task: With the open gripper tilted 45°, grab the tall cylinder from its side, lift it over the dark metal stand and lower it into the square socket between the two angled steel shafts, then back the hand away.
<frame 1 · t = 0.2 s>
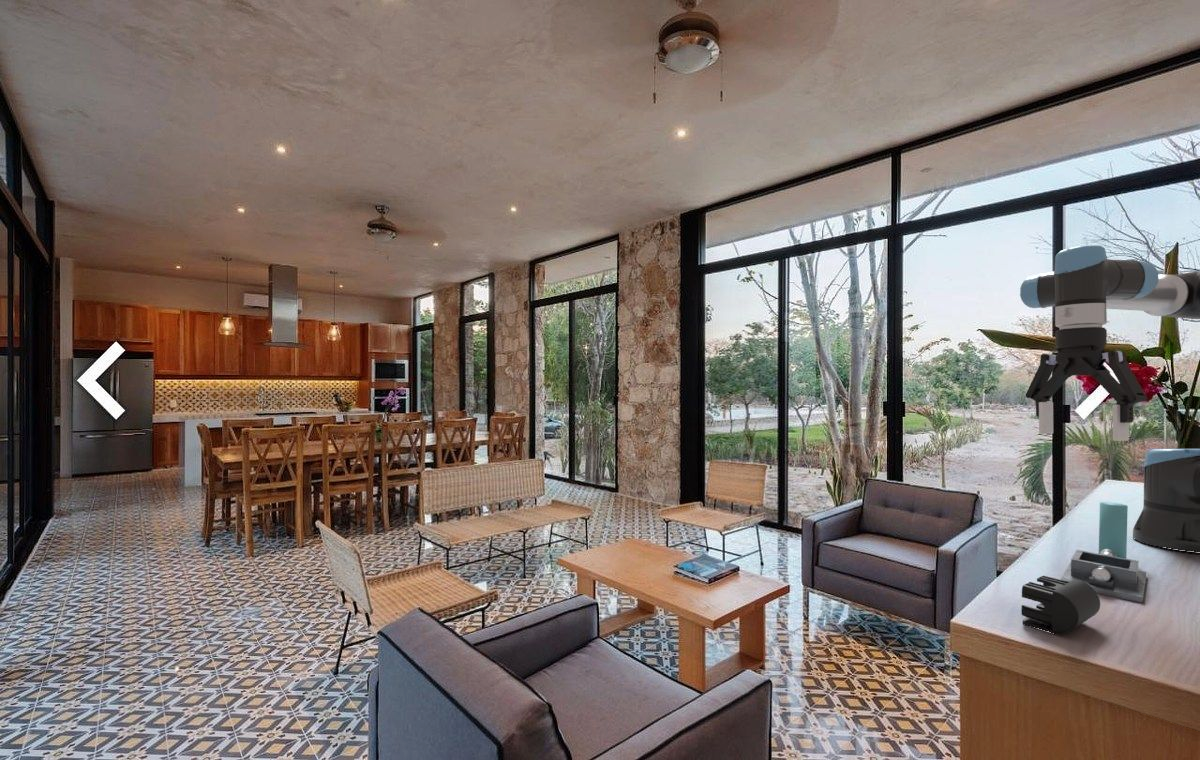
hand: (1081, 437, 107), 28 cm above the table, tool pointing down, fingers open, 13 cm apart
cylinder: (1112, 559, 119), on the table
end cap: (1060, 627, 86), on the table
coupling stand: (1104, 580, 106), on the table
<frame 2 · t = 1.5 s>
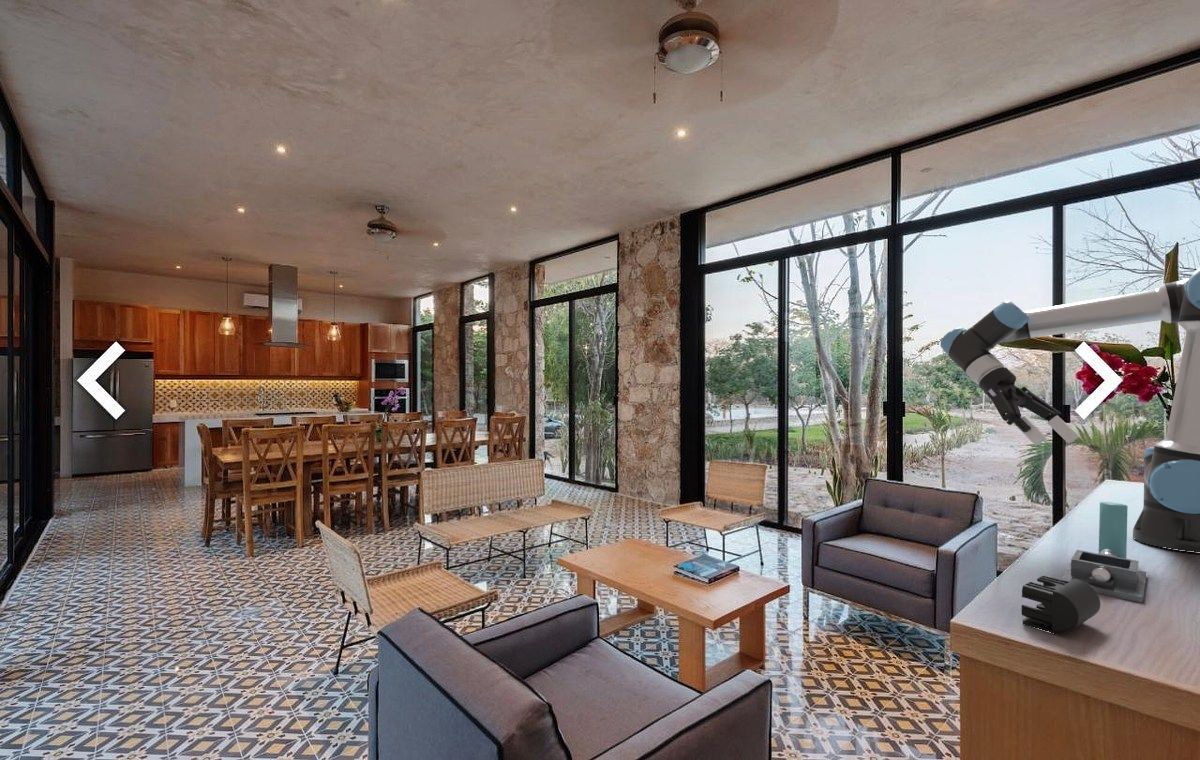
hand: (1058, 441, 128), 24 cm above the table, tool tilted 45°, fingers open, 13 cm apart
nothing on the table moved.
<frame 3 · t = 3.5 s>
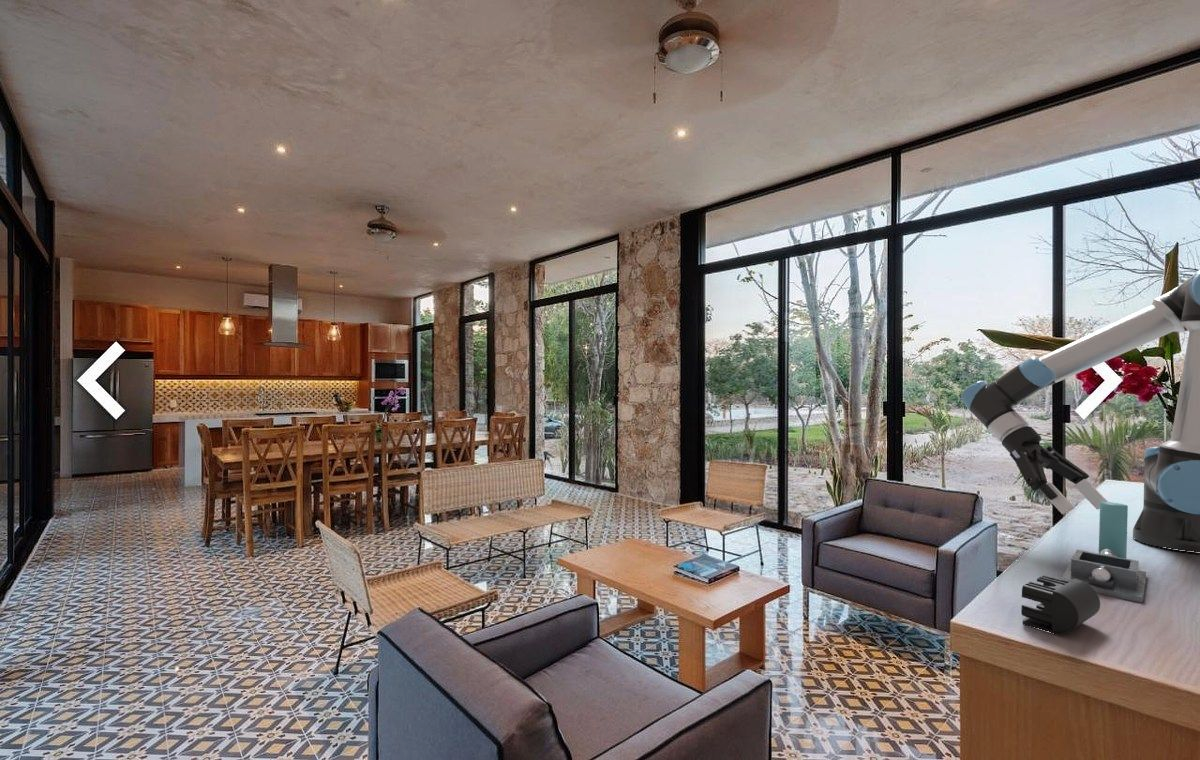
hand: (1086, 508, 123), 10 cm above the table, tool tilted 45°, fingers open, 13 cm apart
nothing on the table moved.
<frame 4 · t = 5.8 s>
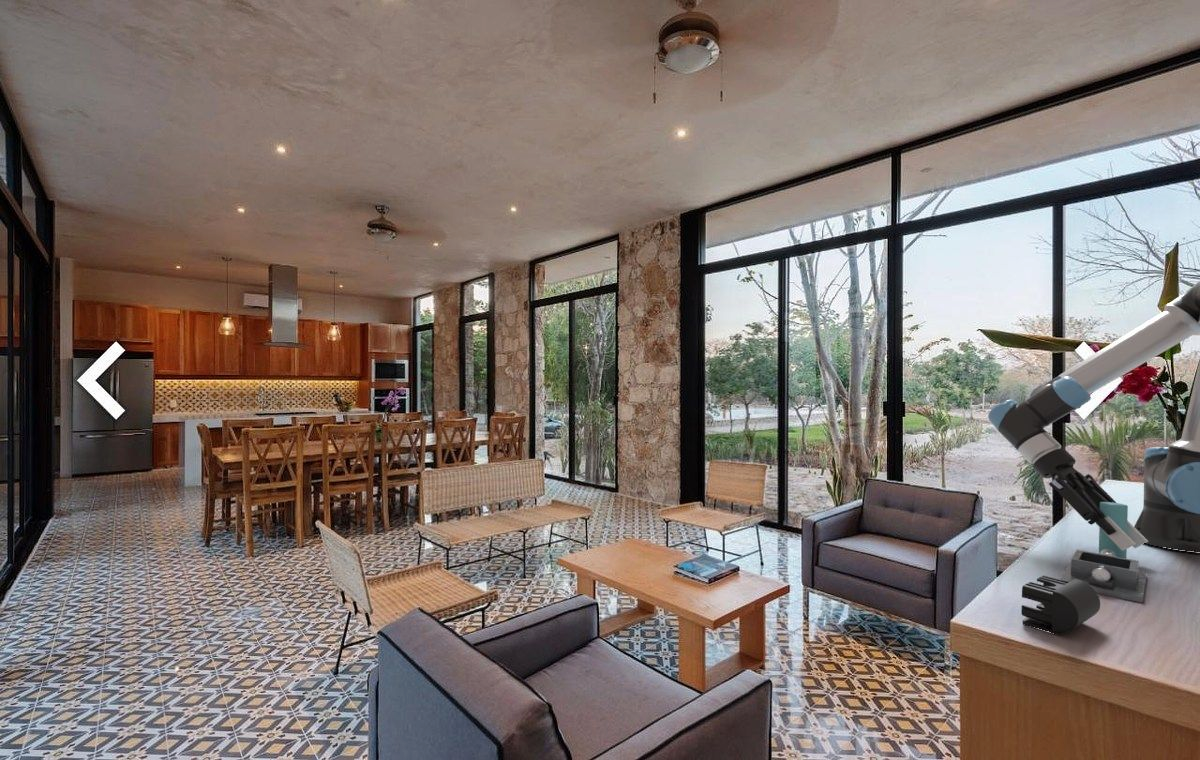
hand: (1135, 545, 115), 4 cm above the table, tool tilted 45°, fingers closed on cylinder, 4 cm apart
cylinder: (1112, 559, 119), on the table, touching gripper
everything else where it was.
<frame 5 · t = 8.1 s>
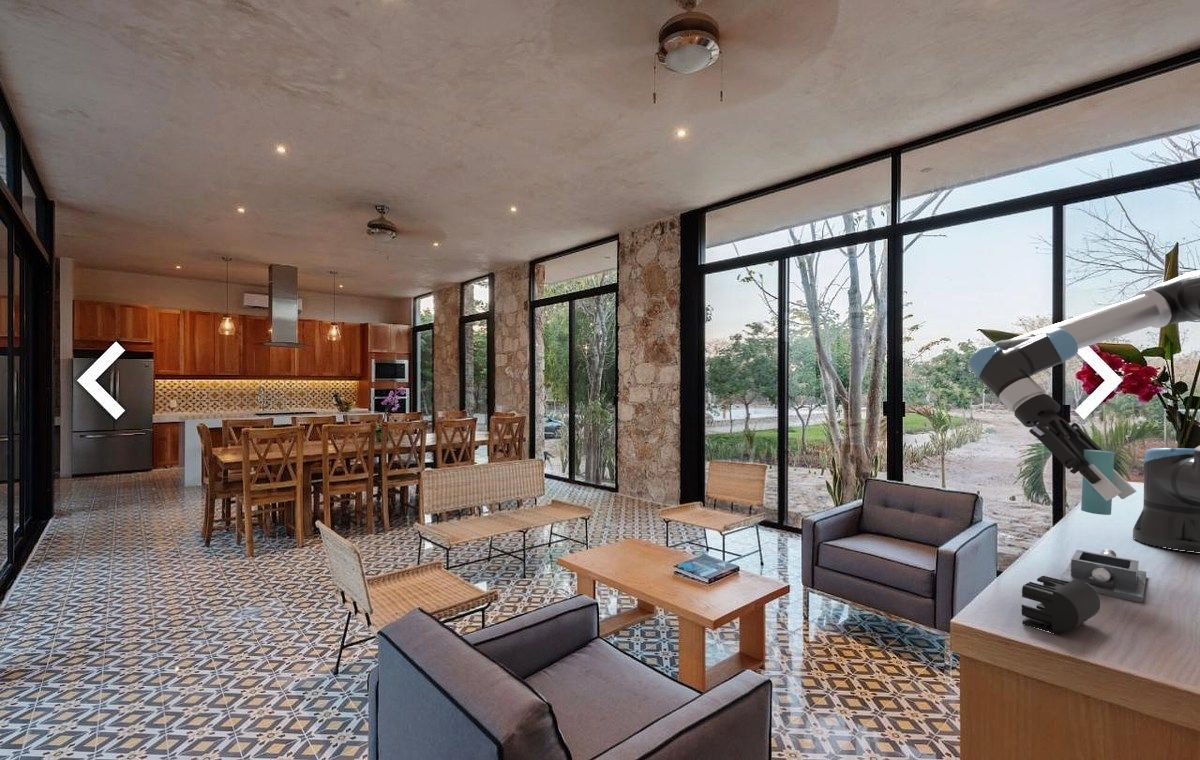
hand: (1121, 495, 104), 17 cm above the table, tool tilted 45°, fingers closed on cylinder, 4 cm apart
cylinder: (1095, 511, 108), point 13 cm above the table, touching gripper
everything else where it was.
when the fingers open (7 cm above the table, at t = 10.4 s): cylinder drops 1 cm, resting on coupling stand.
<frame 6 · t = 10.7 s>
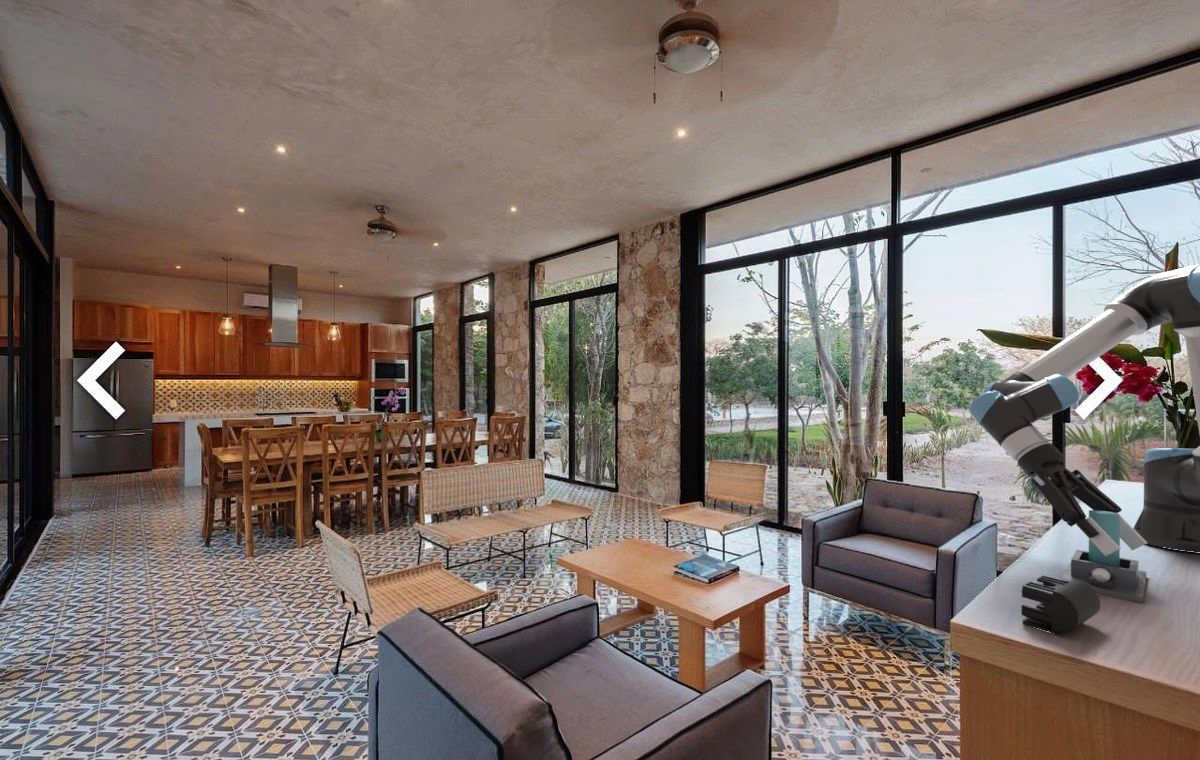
hand: (1126, 549, 103), 7 cm above the table, tool tilted 45°, fingers open, 9 cm apart
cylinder: (1103, 575, 106), point 1 cm above the table, touching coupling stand
everything else where it was.
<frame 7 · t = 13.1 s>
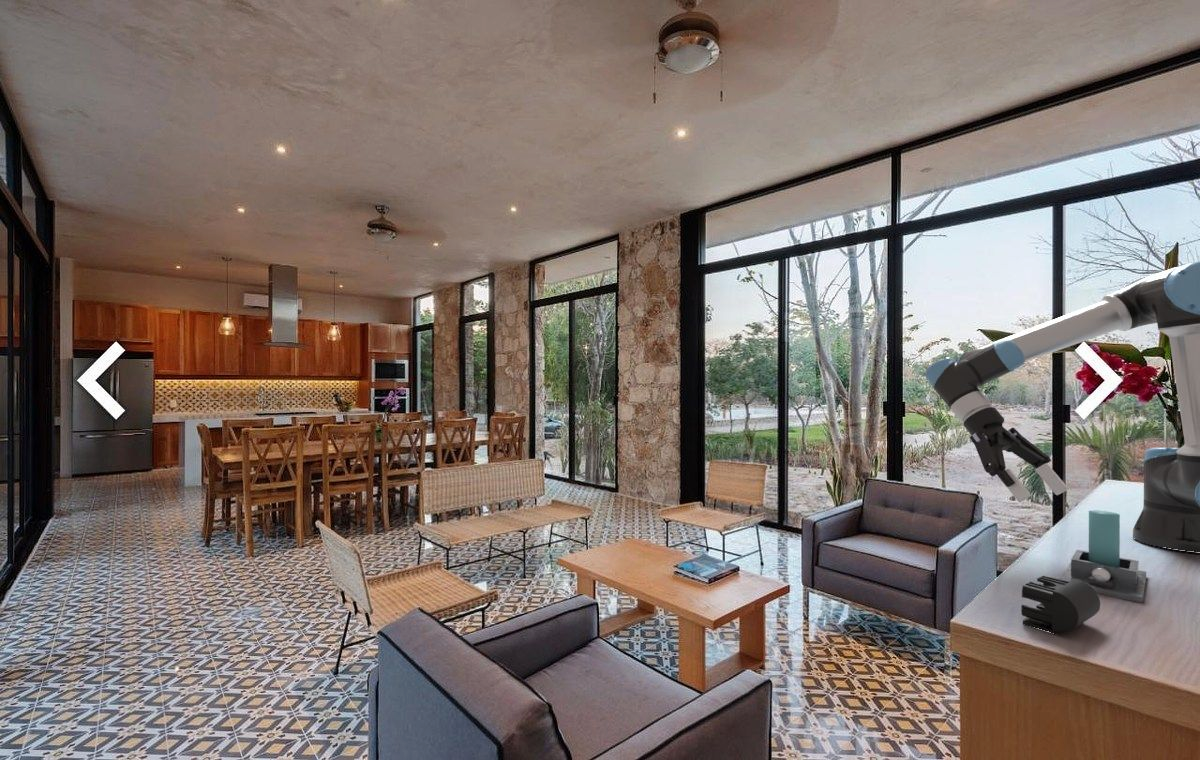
hand: (1044, 495, 117), 14 cm above the table, tool tilted 40°, fingers open, 13 cm apart
nothing on the table moved.
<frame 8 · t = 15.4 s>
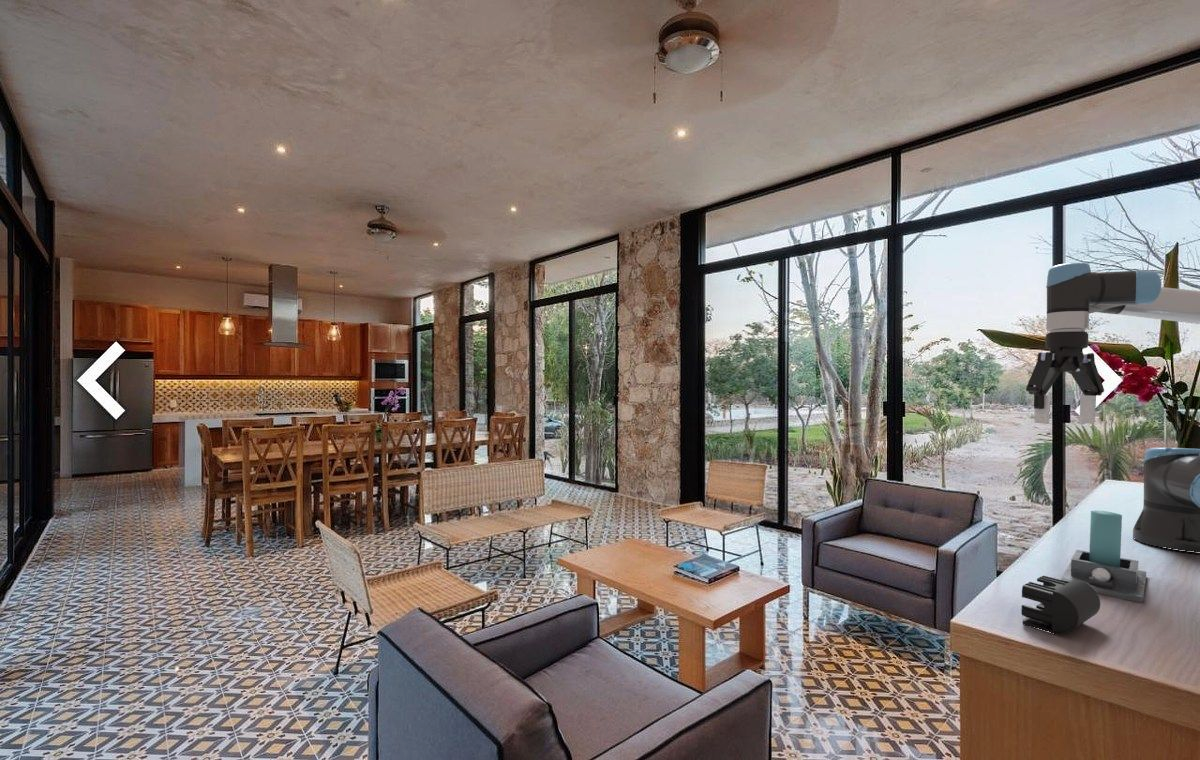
hand: (1064, 423, 127), 29 cm above the table, tool pointing down, fingers open, 13 cm apart
nothing on the table moved.
at the end: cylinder 0.1 cm off-centre on the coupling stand, point 1.0 cm above the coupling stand's base; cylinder tilted 1°; the gripper is holding nothing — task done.
